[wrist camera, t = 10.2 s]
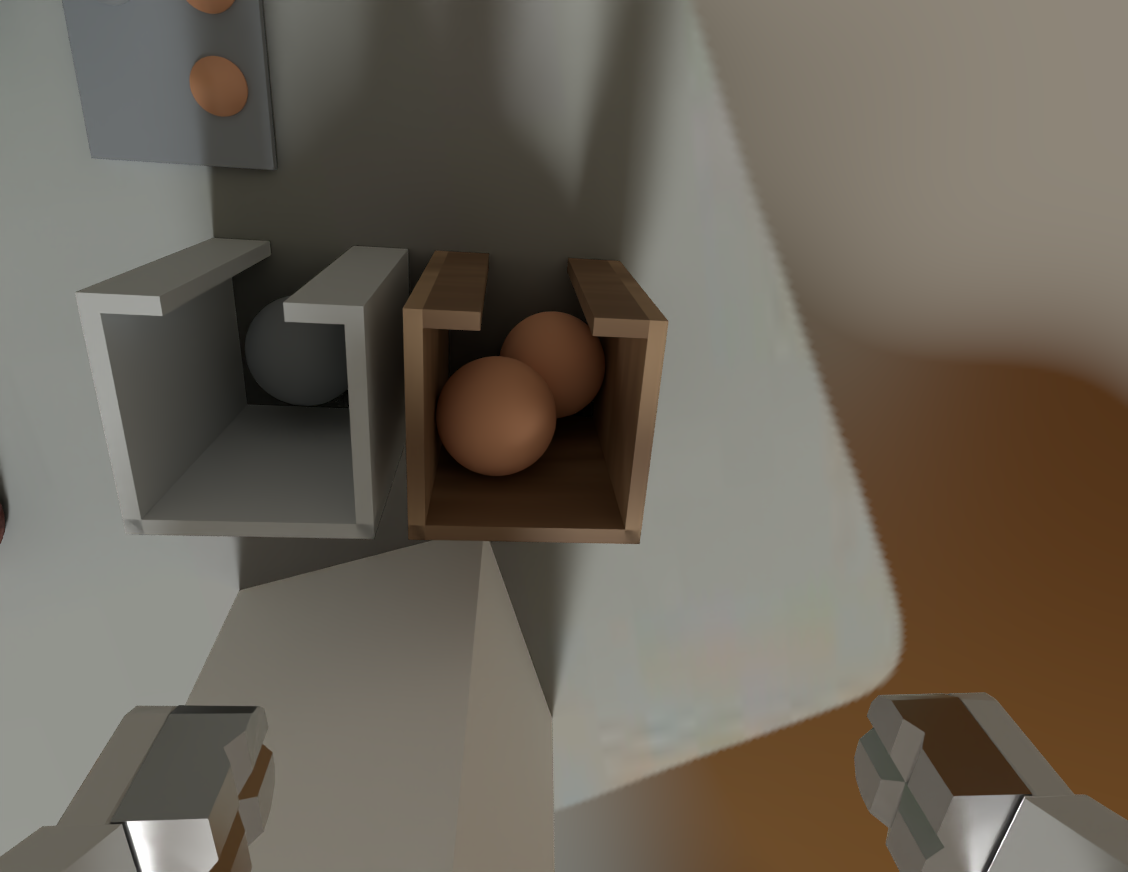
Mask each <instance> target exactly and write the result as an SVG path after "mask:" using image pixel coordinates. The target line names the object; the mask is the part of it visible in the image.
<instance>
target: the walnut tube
mask: <svg viewBox="0 0 1128 872" xmlns="http://www.w3.org/2000/svg"><path fill="white" fill-rule="evenodd" d="M488 268H489V253H471V252H454V251H436V250H435V252H434V254H433V255H432V257H431V259H430V261H429V263H428V264H427V266H426V268H425V270H424V271H423V273H422V275H421V277H420V279H419V280H418V282H417V284H416V286H415V287H414V289H413V291H412V293H411V295H410V296H409V298H408V300H407V302H406V303H405V305H404V307H403V338H404V380H405V421H406V462H407V504H408V540H454V541H508V542H562V543H616V544H640V536H641V528H642V520H643V513H644V505H645V497H646V490H647V482H648V474H649V467H650V459H651V451H652V444H653V436H654V428H655V420H656V413H657V405H658V397H659V390H660V382H661V374H662V367H663V359H664V351H665V344H666V336H667V328H668V320H667V319H666V318H665V316H664V315H663V314H662V313H661V312H660V310H659V309H658V308H657V307H656V305H655V304H654V303H653V302H652V300H651V299H650V298H649V297H648V295H647V294H646V293H645V292H644V290H643V289H642V288H641V287H640V285H639V284H638V283H637V282H636V280H635V279H634V278H633V277H632V275H631V274H630V273H629V272H628V270H627V269H626V268H625V267H624V265H623V264H622V263H621V262H620V261H613V260H595V259H577V258H568V266H567V272H568V275H569V277H570V280H571V282H572V285H573V287H574V290H575V292H576V295H577V297H578V300H579V302H580V305H581V307H582V310H583V313H584V315H585V318H586V320H587V323H588V325H589V328H590V330H591V333H592V335H593V336H600V343H601V345H602V348H603V351H604V356H605V374H604V378H603V382H602V385H601V387H600V389H599V391H598V393H597V395H596V396H595V397H594V408H593V417H582V416H566V417H562V418H557V419H556V428H555V431H554V435H553V438H552V440H551V443H550V444H549V446H548V448H547V450H546V451H545V452H544V453H543V455H542V456H541V457H540V458H539V459H538V460H537V461H536V462H535V463H533V464H532V465H531V466H529V467H527V468H526V469H524V470H522V471H520V472H517V473H514V474H510V475H505V476H488V475H482V474H479V473H476V472H473V471H471V470H469V469H467V468H465V467H464V466H462V465H461V464H459V463H458V462H457V461H456V460H455V459H454V458H453V457H452V456H451V455H450V454H449V453H448V451H447V450H446V448H445V447H444V445H443V443H442V441H441V439H440V436H439V433H438V429H437V424H436V408H437V403H438V399H439V396H440V393H441V391H442V389H443V387H444V385H445V384H446V382H447V381H448V379H449V329H453V330H475V331H480V329H481V321H482V313H483V306H484V298H485V291H486V283H487V275H488Z"/></svg>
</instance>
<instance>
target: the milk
mask: <svg viewBox="0 0 1128 872" xmlns="http://www.w3.org/2000/svg"><path fill="white" fill-rule="evenodd" d="M185 705H196V706H260V707H263V708H265V713H266V718H267V722H268V730H267V733H266V735H265V738H264V741H263V744H264V745H265V746H266V747H267V748H268V749H269V750H271V751H272V752H273V757H274V764H275V786H274V792H273V798H272V804H271V810H270V813H269V816H268V820H267V823H266V826H265V829H264V832H263V833H262V834H261V835H260V836H259V837H258V838H257V839H256V840H254V841H253V842H252V843H251V844H250V845H249V846H248V848H249V854H250V859H251V864H252V869H251V872H555V864H554V863H555V860H554V793H553V727H552V716H551V714H550V711H549V708H548V705H547V702H546V699H545V697H544V694H543V691H542V688H541V685H540V682H539V680H538V677H537V674H536V671H535V668H534V666H533V663H532V660H531V657H530V654H529V651H528V649H527V646H526V643H525V640H524V637H523V635H522V632H521V629H520V626H519V623H518V620H517V618H516V615H515V612H514V609H513V606H512V604H511V601H510V598H509V595H508V592H507V589H506V587H505V584H504V581H503V578H502V575H501V572H500V570H499V567H498V564H497V561H496V558H495V556H494V553H493V550H492V547H491V544H490V541H454V540H432V541H428V542H424V543H420V544H416V545H413V546H409V547H405V548H401V549H397V550H393V551H389V552H385V553H382V554H378V555H374V556H370V557H366V558H362V559H358V560H355V561H351V562H347V563H343V564H339V565H335V566H331V567H328V568H324V569H320V570H316V571H312V572H308V573H304V574H301V575H297V576H293V577H289V578H285V579H281V580H277V581H274V582H270V583H266V584H262V585H258V586H254V587H250V588H247V589H243V590H239V592H238V594H237V597H236V599H235V601H234V603H233V605H232V607H231V609H230V611H229V613H228V616H227V618H226V620H225V622H224V624H223V626H222V628H221V630H220V632H219V635H218V637H217V639H216V641H215V643H214V645H213V647H212V649H211V652H210V654H209V656H208V658H207V660H206V662H205V664H204V666H203V668H202V671H201V673H200V675H199V677H198V679H197V681H196V683H195V685H194V687H193V690H192V692H191V694H190V696H189V698H188V700H187V702H186V704H185Z"/></svg>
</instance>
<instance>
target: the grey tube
mask: <svg viewBox="0 0 1128 872" xmlns="http://www.w3.org/2000/svg"><path fill="white" fill-rule="evenodd" d="M270 255H271V249H270V241H259V240H242V239H224V238H211V239H209V240H206V241H204V242H201V243H199V244H196V245H194V246H191V247H189V248H186V249H183V250H181V251H178V252H176V253H173V254H171V255H168V256H166V257H163V258H161V259H158V260H156V261H153V262H150V263H148V264H145V265H143V266H140V267H138V268H135V269H133V270H130V271H128V272H125V273H123V274H120V275H117V276H115V277H112V278H110V279H107V280H105V281H102V282H100V283H97V284H95V285H92V286H90V287H87V288H85V289H82V290H79V291H77V292H75V296H76V300H77V305H78V310H79V314H80V319H81V324H82V329H83V333H84V338H85V343H86V348H87V352H88V357H89V362H90V366H91V371H92V376H93V381H94V385H95V390H96V395H97V400H98V404H99V409H100V414H101V419H102V423H103V428H104V433H105V437H106V442H107V447H108V452H109V456H110V461H111V466H112V471H113V475H114V480H115V485H116V490H117V494H118V499H119V504H120V508H121V513H122V518H123V523H124V527H125V532H126V534H132V535H186V536H240V537H293V538H347V539H374V538H375V535H376V532H377V529H378V526H379V522H380V519H381V516H382V513H383V510H384V507H385V504H386V501H387V497H388V494H389V491H390V488H391V485H392V482H393V479H394V476H395V472H396V469H397V466H398V463H399V460H400V457H401V454H402V451H403V447H404V444H405V441H406V421H405V380H404V338H403V307H404V305H405V303H406V302H407V300H408V298H409V263H408V249H401V248H383V247H365V246H353V247H351V248H350V249H349V250H348V251H346V252H345V253H344V254H343V255H341V256H340V257H339V258H338V259H336V260H335V261H334V262H333V263H331V264H330V265H329V266H328V267H326V268H325V269H324V270H323V271H322V272H320V273H319V274H318V275H317V276H315V277H314V278H313V279H312V280H310V281H309V282H308V283H307V284H305V285H304V286H303V287H302V288H300V289H299V290H298V291H297V292H295V293H294V294H293V295H292V296H290V297H289V298H288V299H287V300H285V301H284V302H283V308H284V319H285V322H302V323H324V324H344V325H345V342H346V359H347V376H348V394H349V408H329V407H300V406H272V405H247V398H246V390H245V382H244V374H243V365H242V357H241V349H240V340H239V332H238V324H237V316H236V307H235V299H234V291H233V282H232V277H233V276H235V275H236V274H238V273H240V272H242V271H243V270H245V269H247V268H249V267H251V266H252V265H254V264H256V263H258V262H259V261H261V260H263V259H265V258H267V257H268V256H270Z"/></svg>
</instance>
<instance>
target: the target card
mask: <svg viewBox="0 0 1128 872" xmlns="http://www.w3.org/2000/svg"><path fill="white" fill-rule="evenodd" d="M62 3H63V8H64V14H65V19H66V24H67V30H68V35H69V40H70V46H71V51H72V56H73V62H74V67H75V72H76V78H77V83H78V88H79V94H80V99H81V104H82V110H83V115H84V120H85V126H86V131H87V136H88V142H89V147H90V152H91V158H97V159H112V160H128V161H143V162H158V163H173V164H188V165H204V166H219V167H234V168H249V169H264V170H277V160H276V149H275V138H274V126H273V115H272V104H271V93H270V82H269V70H268V59H267V48H266V37H265V26H264V14H263V3H262V0H62Z"/></svg>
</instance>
